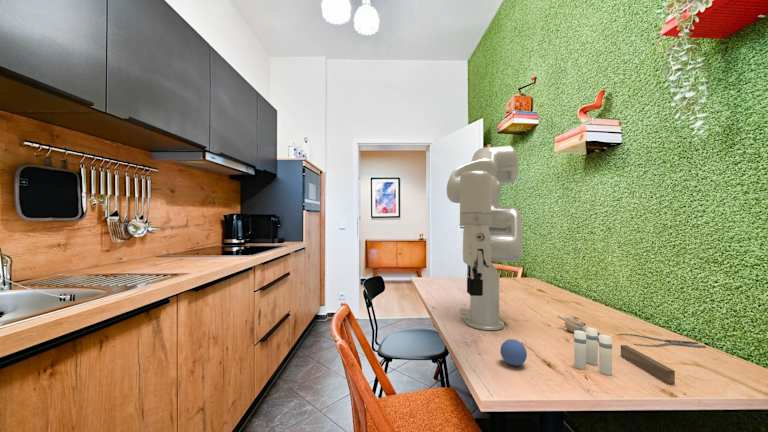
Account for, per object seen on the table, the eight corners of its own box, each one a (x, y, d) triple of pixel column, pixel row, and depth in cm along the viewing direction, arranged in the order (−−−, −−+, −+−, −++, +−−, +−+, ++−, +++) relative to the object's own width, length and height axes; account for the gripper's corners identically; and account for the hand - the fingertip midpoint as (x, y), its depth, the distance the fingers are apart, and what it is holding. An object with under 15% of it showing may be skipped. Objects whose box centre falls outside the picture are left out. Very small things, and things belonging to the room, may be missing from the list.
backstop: (667, 384, 66) (667, 370, 66) (620, 356, 80) (620, 344, 80) (674, 384, 66) (674, 370, 66) (626, 356, 80) (626, 345, 80)
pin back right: (598, 373, 71) (598, 336, 71) (599, 369, 73) (599, 333, 73) (612, 376, 69) (611, 339, 69) (612, 372, 71) (612, 336, 71)
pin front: (573, 367, 73) (573, 332, 74) (574, 363, 75) (574, 329, 76) (585, 370, 72) (585, 334, 72) (586, 366, 74) (586, 331, 74)
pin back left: (585, 363, 76) (585, 329, 76) (586, 359, 78) (586, 326, 78) (597, 366, 74) (597, 331, 74) (598, 362, 76) (598, 328, 76)
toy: (597, 331, 87) (553, 307, 101) (590, 348, 87) (547, 321, 101) (619, 336, 90) (574, 312, 104) (612, 352, 91) (568, 326, 105)
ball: (497, 365, 74) (497, 340, 74) (504, 357, 79) (504, 333, 79) (523, 373, 70) (523, 347, 70) (529, 363, 75) (529, 339, 75)
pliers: (612, 332, 97) (676, 334, 96) (612, 335, 97) (676, 336, 96) (637, 345, 87) (708, 346, 86) (637, 348, 87) (708, 349, 86)
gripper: (500, 220, 68) (500, 303, 67) (481, 221, 83) (481, 288, 83) (467, 220, 68) (466, 302, 68) (454, 220, 84) (453, 287, 83)
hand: (474, 293), depth 75 cm, fingers closed
